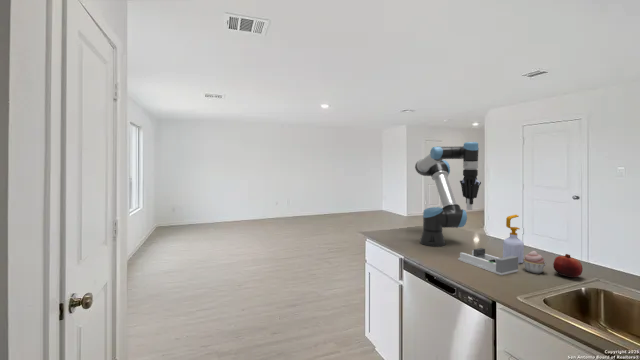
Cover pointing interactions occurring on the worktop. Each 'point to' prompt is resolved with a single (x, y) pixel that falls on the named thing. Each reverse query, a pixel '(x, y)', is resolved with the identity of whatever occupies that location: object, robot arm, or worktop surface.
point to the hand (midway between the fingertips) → (469, 209)
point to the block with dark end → (483, 255)
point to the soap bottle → (513, 242)
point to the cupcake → (534, 262)
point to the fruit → (567, 266)
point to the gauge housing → (492, 263)
